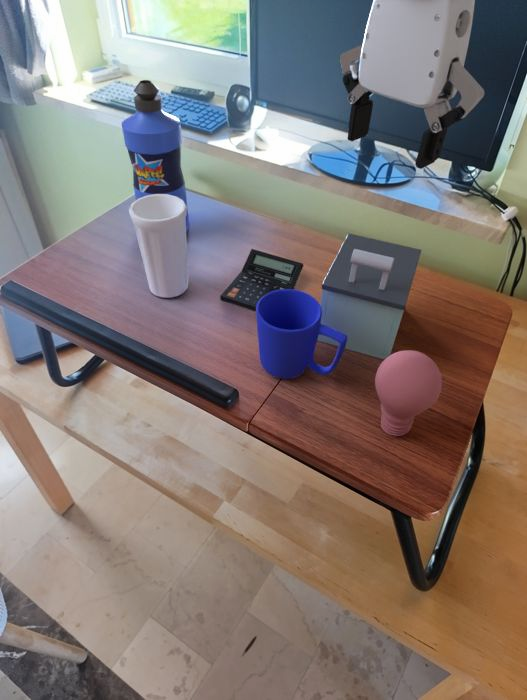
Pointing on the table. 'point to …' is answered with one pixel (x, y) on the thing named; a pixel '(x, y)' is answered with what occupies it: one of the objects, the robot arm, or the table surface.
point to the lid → (373, 271)
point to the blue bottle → (154, 146)
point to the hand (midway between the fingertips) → (389, 150)
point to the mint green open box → (360, 323)
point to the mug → (292, 333)
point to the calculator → (261, 279)
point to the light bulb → (406, 389)
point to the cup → (162, 242)
